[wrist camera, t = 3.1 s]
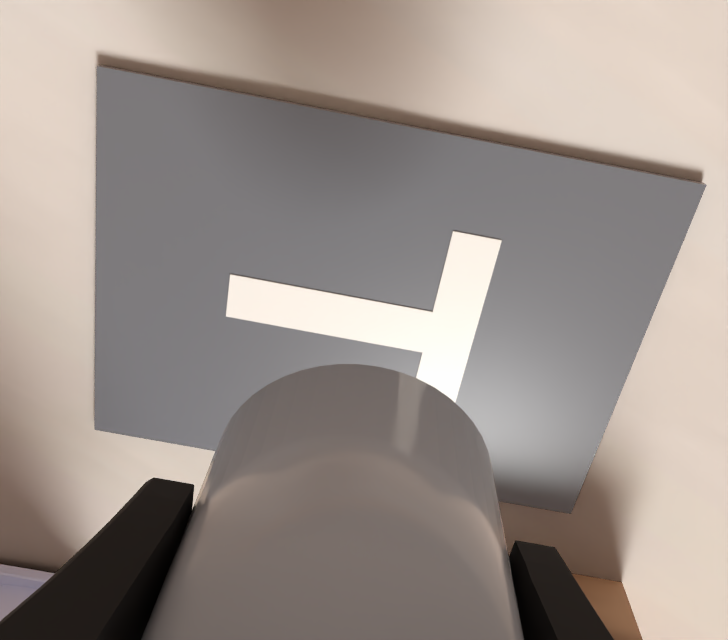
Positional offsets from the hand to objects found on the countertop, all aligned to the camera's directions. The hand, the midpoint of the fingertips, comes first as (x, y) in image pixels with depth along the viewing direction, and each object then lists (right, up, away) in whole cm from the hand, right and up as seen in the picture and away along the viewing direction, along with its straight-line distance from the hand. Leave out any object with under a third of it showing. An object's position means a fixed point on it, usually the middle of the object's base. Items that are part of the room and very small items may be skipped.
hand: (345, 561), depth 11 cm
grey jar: (0, +1, +1) cm, 2 cm away
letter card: (0, +4, +7) cm, 8 cm away
